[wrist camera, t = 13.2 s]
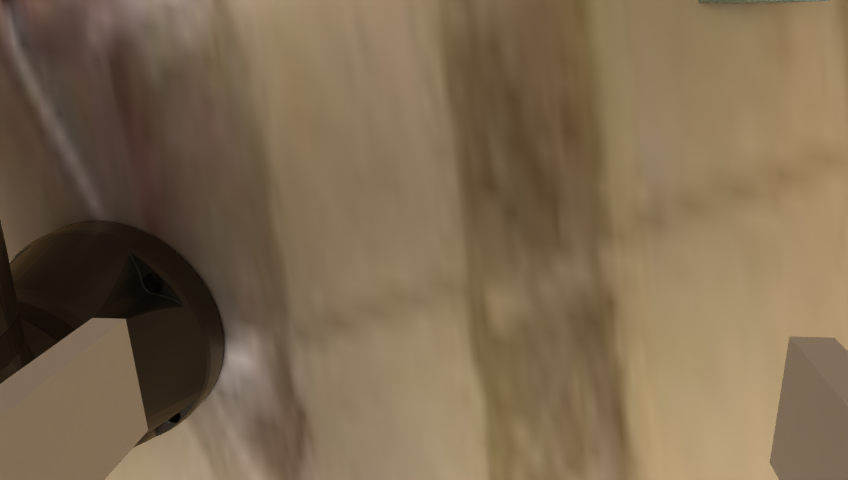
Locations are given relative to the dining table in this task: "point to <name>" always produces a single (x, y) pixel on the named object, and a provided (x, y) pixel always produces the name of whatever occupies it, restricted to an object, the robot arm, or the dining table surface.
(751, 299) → the dining table surface
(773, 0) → the teal green block
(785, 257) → the dining table surface
